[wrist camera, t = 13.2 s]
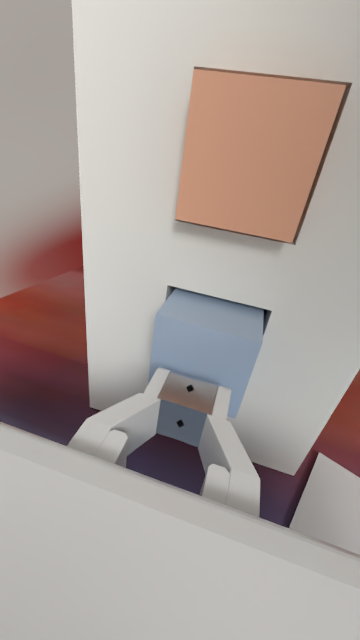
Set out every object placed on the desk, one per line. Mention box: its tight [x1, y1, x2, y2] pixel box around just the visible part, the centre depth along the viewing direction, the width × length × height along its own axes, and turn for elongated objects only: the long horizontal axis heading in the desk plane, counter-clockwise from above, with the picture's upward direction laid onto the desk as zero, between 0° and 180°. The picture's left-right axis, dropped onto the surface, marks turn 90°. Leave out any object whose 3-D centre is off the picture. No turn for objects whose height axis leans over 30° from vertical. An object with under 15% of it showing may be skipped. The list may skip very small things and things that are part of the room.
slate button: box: [148, 287, 264, 419], centre depth 14 cm, size 5×4×4 cm
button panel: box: [72, 0, 360, 476], centre depth 15 cm, size 10×14×30 cm
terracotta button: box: [175, 69, 346, 243], centre depth 11 cm, size 5×4×4 cm
